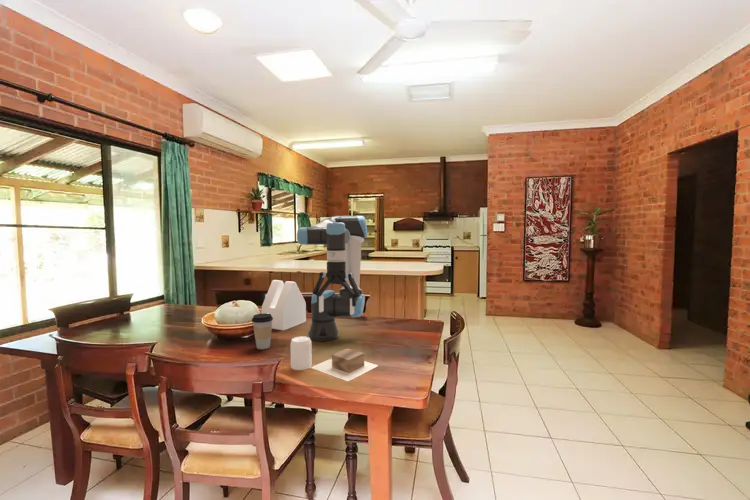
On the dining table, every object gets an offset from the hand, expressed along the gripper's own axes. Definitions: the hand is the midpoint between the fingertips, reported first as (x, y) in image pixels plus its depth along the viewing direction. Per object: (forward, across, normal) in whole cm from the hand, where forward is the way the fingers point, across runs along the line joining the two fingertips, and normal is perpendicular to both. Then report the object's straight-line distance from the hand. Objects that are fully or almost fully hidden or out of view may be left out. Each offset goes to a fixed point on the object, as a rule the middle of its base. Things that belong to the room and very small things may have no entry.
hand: (336, 313), depth 141 cm
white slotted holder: (+21, -52, +43) cm, 71 cm away
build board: (+21, +5, -4) cm, 22 cm away
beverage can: (+21, -11, -9) cm, 26 cm away
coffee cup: (+21, -41, +7) cm, 46 cm away
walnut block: (+20, +7, -4) cm, 21 cm away
